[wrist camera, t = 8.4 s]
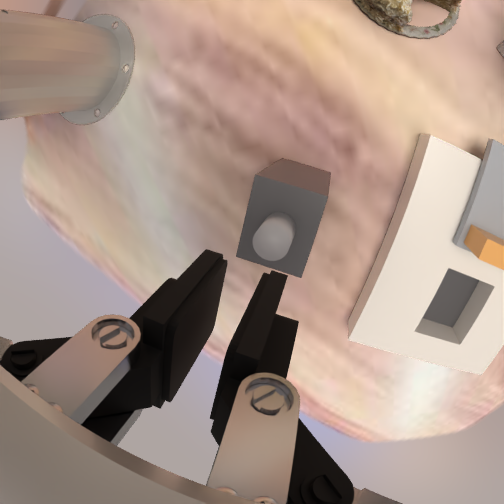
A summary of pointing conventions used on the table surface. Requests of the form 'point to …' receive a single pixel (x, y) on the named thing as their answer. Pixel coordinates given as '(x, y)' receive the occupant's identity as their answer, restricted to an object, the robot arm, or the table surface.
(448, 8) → the cake
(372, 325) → the socket board
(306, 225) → the plug
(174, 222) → the table surface
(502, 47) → the coffee box
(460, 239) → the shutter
